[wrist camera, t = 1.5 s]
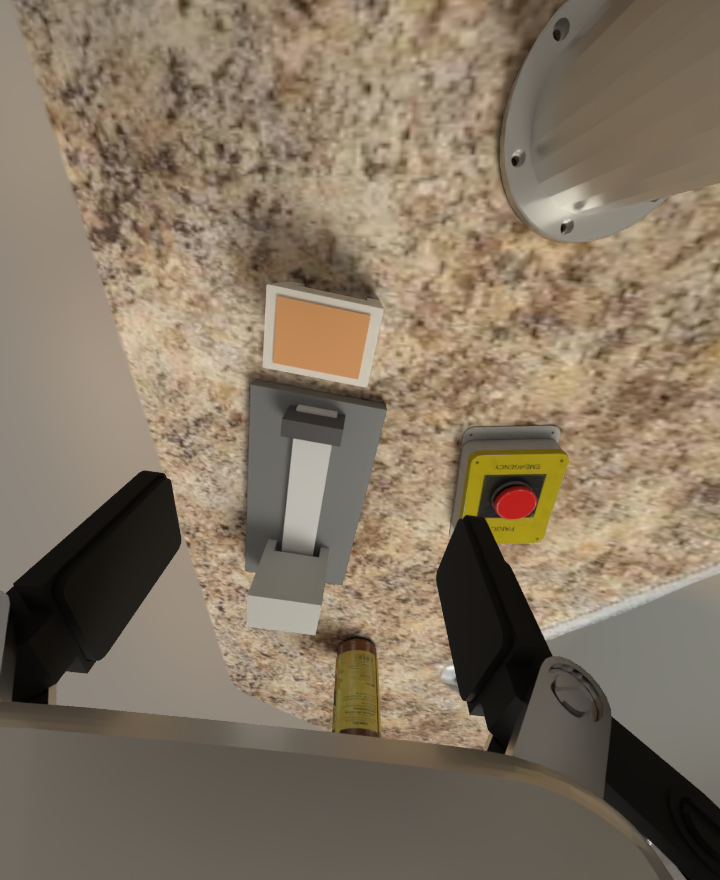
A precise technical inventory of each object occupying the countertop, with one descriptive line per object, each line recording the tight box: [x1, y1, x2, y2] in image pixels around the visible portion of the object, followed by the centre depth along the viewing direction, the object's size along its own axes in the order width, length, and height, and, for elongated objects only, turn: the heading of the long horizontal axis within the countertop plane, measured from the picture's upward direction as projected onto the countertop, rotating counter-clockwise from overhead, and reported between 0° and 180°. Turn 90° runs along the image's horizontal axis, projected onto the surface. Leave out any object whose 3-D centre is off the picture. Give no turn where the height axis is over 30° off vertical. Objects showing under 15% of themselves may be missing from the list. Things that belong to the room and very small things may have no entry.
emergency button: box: [449, 425, 569, 544], centre depth 32 cm, size 9×4×15 cm
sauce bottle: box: [332, 638, 381, 738], centre depth 39 cm, size 6×6×20 cm
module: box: [263, 281, 384, 388], centre depth 23 cm, size 5×7×7 cm
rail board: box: [245, 379, 387, 635], centre depth 30 cm, size 24×12×8 cm, turn 169°
